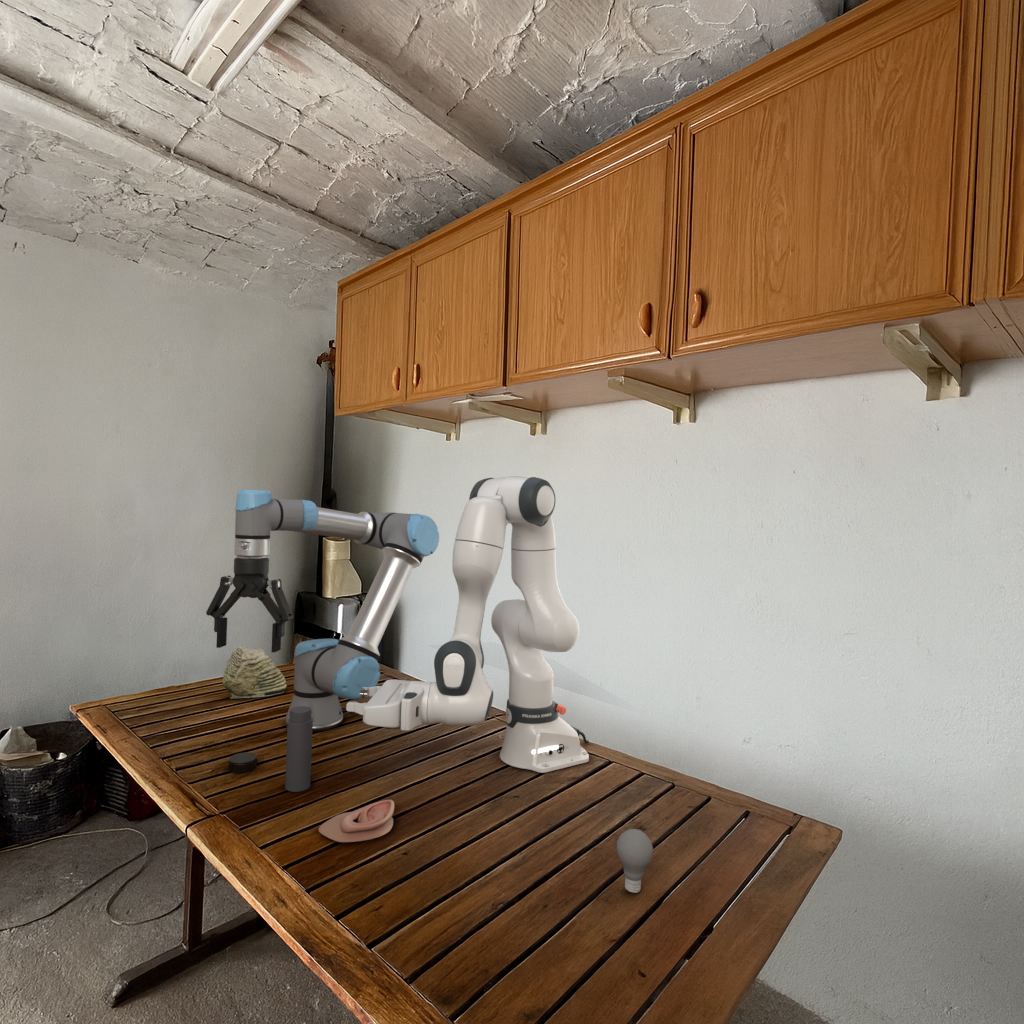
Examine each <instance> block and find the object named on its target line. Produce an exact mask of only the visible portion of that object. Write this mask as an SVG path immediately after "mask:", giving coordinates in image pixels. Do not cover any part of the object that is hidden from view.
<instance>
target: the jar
mask: <svg viewBox="0 0 1024 1024" xmlns="http://www.w3.org/2000/svg"><path fill="white" fill-rule="evenodd" d="M289 714H290V718H289V719H288V723H287V726H286V752H285V753H286V754H285V780H284V789H285V790H286V791H288V792H292V793H298V792H304V791H306V790H309V788H311V779H312V757H313V756H312V755H313V753H312V751H313V732H312V730H313V718H312V717H311V714H312V710H311V708H310V707H307V706H298V707H294V708H291V709H290V713H289Z"/></svg>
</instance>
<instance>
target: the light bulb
mask: <svg viewBox="0 0 1024 1024" xmlns="http://www.w3.org/2000/svg"><path fill="white" fill-rule="evenodd" d="M615 849H616V854H617V857H618V859H619V861H620V863H621V865H622V867H623V873H624V874H623V875H624V876H625V878H624V888H625V890H627V891H628V892H630V893H634V894H635V893H639V892H640V891H641V889H642V887H641V886H642V879H643V877H644V875H645V871H646V868H647V867H648V866H649V864H650V863H651V861H652V859H653V855H654V847H653V843H652V841H651V838H649V836H648V835H647V834H646V833H645V832H643V831H642V830H641V829H636V828H629V829H627V830H625V831H623V832H622V833H621V834H620V835H619V837H618V839H617V841H616V847H615Z"/></svg>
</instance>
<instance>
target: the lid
mask: <svg viewBox="0 0 1024 1024" xmlns="http://www.w3.org/2000/svg"><path fill="white" fill-rule="evenodd" d="M227 765H228V766H227V769H228V771H229V772H230V773H232V774H246V773H249V772H252V771H254V770H256V768H257V766H258V755H257V753H254V752H249V751H246V752H239V753H235V754H233V755H231V756H230V757H229V758H228V762H227Z"/></svg>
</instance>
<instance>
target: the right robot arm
mask: <svg viewBox="0 0 1024 1024" xmlns="http://www.w3.org/2000/svg"><path fill="white" fill-rule="evenodd" d="M555 507H556V494H555V490H554V488H553V487H552V485H551V483H550V482H549V481H548V480H546V479H543V478H540V477H536V476H531V477H527V476H518V475H510V476H503V477H502V476H501V477H485V478H483V479H480V480H478V481H476V483H475V484H474V486H472V489H471V491H470V494H469V498H468V500H467V502H466V504H465V506H464V508H463V511H462V513H461V517H460V519H459V522H458V525H457V529H456V533H455V538H454V543H453V548H452V561H451V562H452V573H453V576H454V578H455V582H456V586H457V591H458V603H457V610H456V615H455V622H454V627H453V633H452V635H451V638H450V640H449V641H447V642H445V643H443V644H442V645H441V646H440V647H439V648H438V650H437V651H436V653H435V655H434V659H433V668H434V676H435V681H426V680H424V681H422V680H404V679H394V678H392V679H387V680H385V681H384V682H383V684H381V685H376V686H375V687H370V688H367V687H363V688H362V689H361V690H360V697H363V698H368V697H370V699H368V701H367V702H358V701H357V700H349V701H348V702H347V703H346V706H345V707H346V710H345V711H347V712H349V713H350V712H352V713H355V714H358V715H361V716H362V722H363V724H366V725H367V726H371V727H379V728H395V729H396V728H399V727H400V730H401V731H406V732H408V731H411V730H413V729H414V728H416V727H418V726H422V725H429V726H430V725H437V724H444V725H446V726H450V727H474V726H475V727H476V726H480V725H482V724H483V723H485V722H486V721H487V719H488V718H489V716H490V712H491V710H492V706H493V700H494V690H493V688H492V687H491V686H490V684H489V682H488V680H487V677H486V675H485V673H484V670H483V668H484V664H485V655H484V654H485V653H484V649H483V646H482V641H481V635H482V628H483V623H484V617H485V611H486V610H485V609H486V604H487V600H488V597H489V595H490V591H491V589H492V587H493V584H494V581H495V579H496V577H497V574H498V571H499V569H500V565H501V562H502V558H503V554H504V547H505V540H506V529H507V526H508V525H509V524H511V527H512V528H511V539H510V561H511V562H510V569H511V570H510V571H511V579H512V582H513V583H514V585H515V586H516V587H517V588H518V590H519V591H520V592H521V594H522V596H523V599H518V598H516V599H505V600H501V601H499V602H498V603H497V604H496V606H495V607H494V609H493V610H492V612H491V613H492V614H491V619H490V622H491V627H492V630H493V632H494V633H495V634H496V636H497V637H498V639H499V641H500V642H501V645H502V647H503V650H504V653H505V657H506V661H507V665H508V666H507V667H508V698H507V700H506V708H505V722H506V725H505V726H506V727H505V731H504V732H505V733H504V738H503V742H502V746H501V749H500V752H499V758H500V761H502V762H503V763H504V764H507V765H508V766H511V767H514V768H518V769H523V770H529V771H533V772H535V773H536V772H537V773H540V774H544V773H549V772H550V773H551V772H553V771H557V770H561V769H565V768H569V767H570V768H571V767H573V766H578V765H581V764H585V763H589V761H590V756H589V755H590V754H589V753H588V752H587V750H586V749H585V748H584V747H583V746H582V745H581V741H580V736H581V737H582V739H583V742H584V743H585V744H589V743H590V741H589V740H588V739H587V738H586V735H585V733H584V732H582V731H580V729H579V728H576V727H574V726H572V725H570V724H569V723H568V722H567V721H565V720H564V719H563V718H562V717H560V716H564V715H565V714H566V713H567V708H566V707H565V706H563V704H559V703H557V702H556V701H554V679H555V678H554V677H555V676H554V675H555V674H554V671H553V669H552V666H551V665H550V664H549V663H548V662H547V660H546V659H545V657H544V655H543V652H542V651H544V652H548V653H565V652H568V651H571V650H572V649H573V648H574V646H575V645H576V644H577V642H578V641H579V637H580V623H579V620H578V618H577V617H576V615H575V614H574V613H573V612H572V611H571V610H570V608H569V607H568V606H567V604H566V602H565V599H564V598H563V595H562V593H561V590H560V589H561V588H560V587H559V582H558V576H557V558H556V556H557V554H556V553H557V551H556V550H557V546H556V530H555V526H554V519H553V513H554V511H555V509H556V508H555ZM559 715H560V716H559Z"/></svg>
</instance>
